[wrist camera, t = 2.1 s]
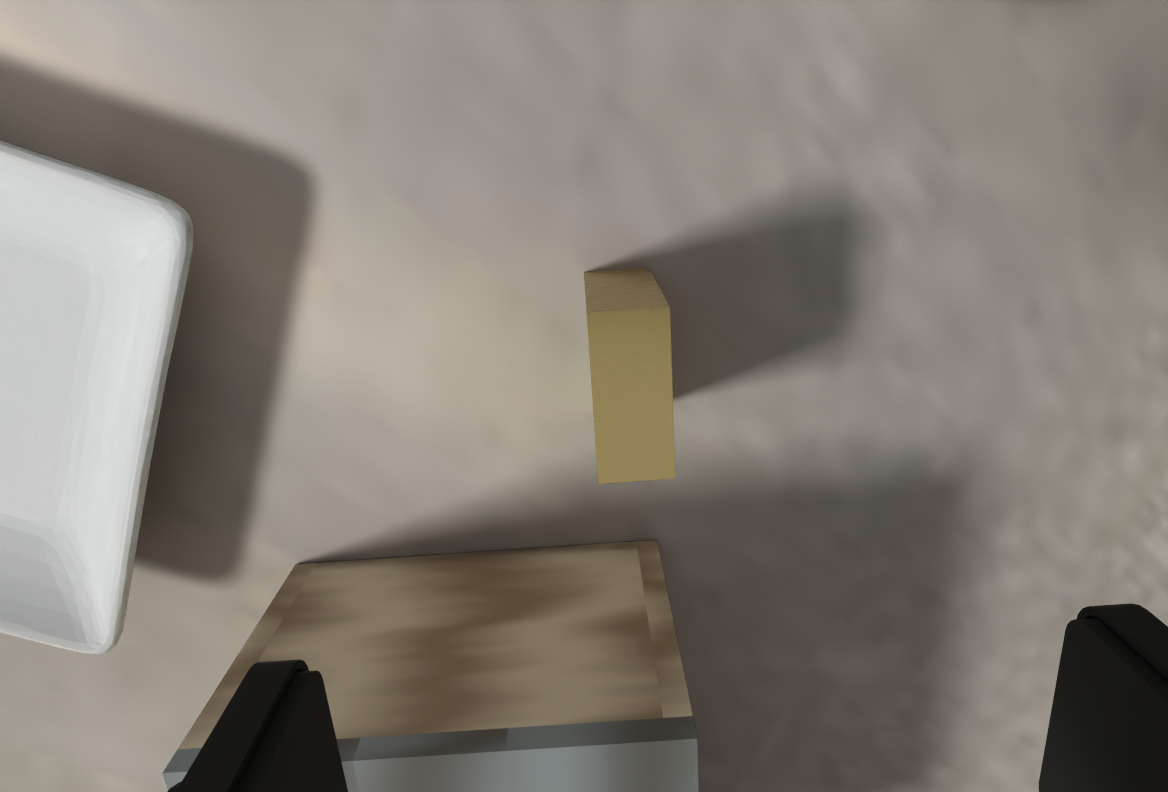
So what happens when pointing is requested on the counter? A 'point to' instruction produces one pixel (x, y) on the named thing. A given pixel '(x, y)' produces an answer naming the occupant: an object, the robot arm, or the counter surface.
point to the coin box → (486, 670)
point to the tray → (79, 388)
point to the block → (630, 375)
